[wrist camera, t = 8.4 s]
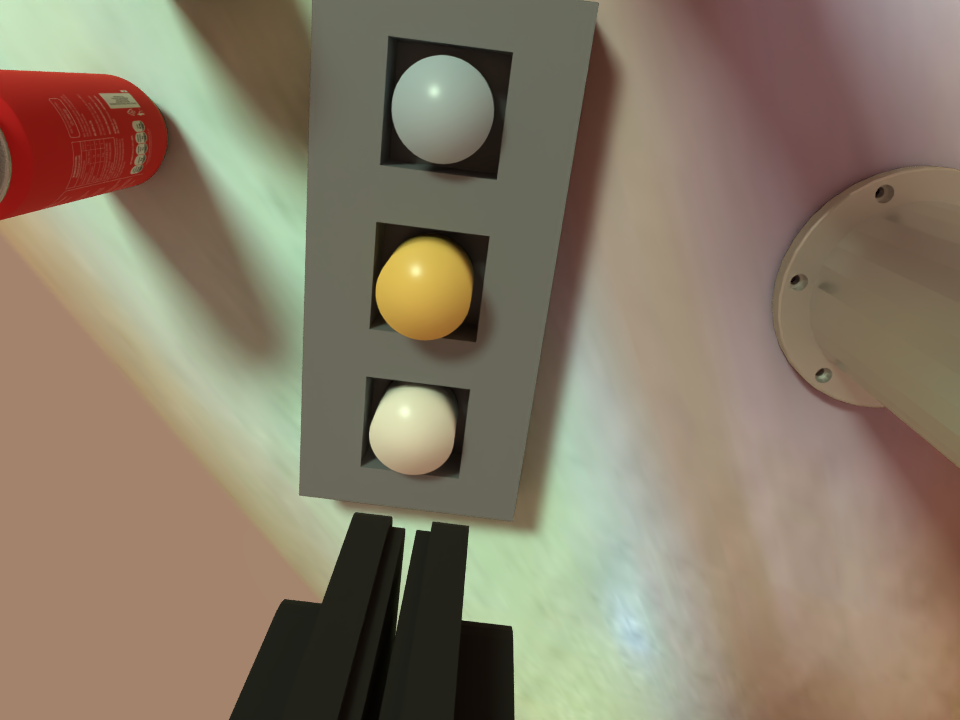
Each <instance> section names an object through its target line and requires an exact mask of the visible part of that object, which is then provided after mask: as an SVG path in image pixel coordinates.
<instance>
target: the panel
mask: <svg viewBox="0 0 960 720" xmlns="http://www.w3.org/2000/svg"><path fill="white" fill-rule="evenodd" d="M598 6H599V3H598V2H590V1H583V0H312V31H311V69H310V107H309V144H308V182H307V220H306V258H305V295H304V333H303V371H302V409H301V446H300V484H299V495H300V496H308V497H317V498H325V499H333V500H341V501H349V502H358V503H366V504H374V505H382V506H390V507H399V508H407V509H415V510H423V511H432V512H440V513H448V514H456V515H464V516H473V517H481V518H489V519H497V520H505V521H513V518H514V512H515V506H516V500H517V494H518V488H519V482H520V476H521V470H522V464H523V458H524V452H525V446H526V440H527V434H528V428H529V422H530V416H531V410H532V404H533V397H534V391H535V385H536V379H537V373H538V367H539V361H540V355H541V349H542V343H543V337H544V331H545V325H546V319H547V313H548V307H549V301H550V295H551V289H552V283H553V277H554V271H555V265H556V259H557V253H558V247H559V241H560V235H561V229H562V223H563V217H564V211H565V205H566V199H567V192H568V186H569V180H570V174H571V168H572V162H573V156H574V150H575V144H576V138H577V132H578V126H579V120H580V114H581V108H582V102H583V96H584V90H585V84H586V78H587V72H588V66H589V60H590V54H591V48H592V42H593V36H594V30H595V24H596V18H597V12H598ZM437 55H447V56H452V57H456V58H459V59H462V60H463V61H465V62H467V63H469V64H470V65H472V66H473V67H474V68H475V69H477V70H478V71H479V72H480V73H481V74H482V75H483V77H484V78H485V79H486V81H487V83H488V84H489V86H490V89H491V91H492V94H493V98H494V106H495V111H494V119H493V123H492V127H491V129H490V132H489V134H488V136H487V138H486V140H485V141H484V143H483V144H482V146H481V147H480V148H479V149H478V150H477V151H476V152H475V153H474V154H472V155H471V156H469V157H468V158H466V159H464V160H462V161H459V162H455V163H451V164H437V163H432V162H429V161H426V160H423V159H421V158H419V157H418V156H416V155H415V154H413V153H412V152H411V151H410V150H409V149H408V148H407V147H406V146H405V145H404V144H403V142H402V141H401V139H400V138H399V136H398V134H397V132H396V129H395V126H394V123H393V119H392V99H393V94H394V90H395V88H396V85H397V83H398V82H399V80H400V78H401V77H402V75H403V74H404V73H405V72H406V70H407V69H408V68H409V67H411V66H412V65H413V64H415V63H416V62H418V61H420V60H422V59H424V58H427V57H431V56H437ZM427 233H431V234H439V235H443V236H446V237H448V238H450V239H452V240H453V241H455V242H456V243H458V244H459V245H460V246H461V247H462V248H463V249H464V250H465V252H466V253H467V255H468V256H469V258H470V260H471V263H472V266H473V271H474V284H473V290H472V297H471V303H470V308H469V311H468V313H467V315H466V317H465V319H464V321H463V322H462V323H461V325H460V326H459V327H458V328H457V329H455V330H454V331H453V332H451V333H450V334H448V335H446V336H444V337H442V338H439V339H434V340H416V339H412V338H409V337H406V336H404V335H402V334H400V333H398V332H397V331H395V330H394V329H393V328H392V327H391V326H390V325H389V324H388V323H387V322H386V321H385V319H384V318H383V316H382V315H381V313H380V311H379V308H378V305H377V301H376V284H377V280H378V277H379V275H380V272H381V271H382V269H383V267H384V266H385V264H386V263H387V261H388V260H389V259H390V257H391V256H392V254H393V253H394V251H395V250H396V249H397V248H398V246H399V245H400V244H402V243H403V242H404V241H406V240H407V239H409V238H411V237H413V236H416V235H420V234H427ZM394 380H399V381H407V382H415V383H423V384H431V385H439V386H447V387H449V388H450V389H451V391H452V392H453V394H454V395H455V398H456V400H457V404H458V417H457V424H456V431H455V438H454V445H453V449H452V452H451V454H450V456H449V457H448V459H447V460H446V461H445V462H444V463H443V464H442V465H441V466H440V467H439V468H437V469H435V470H433V471H431V472H429V473H425V474H420V475H408V474H402V473H399V472H396V471H394V470H392V469H390V468H388V467H387V466H385V465H384V464H383V463H382V462H381V461H380V460H379V459H378V458H377V457H376V455H375V454H374V452H373V450H372V448H371V444H370V439H369V431H370V426H371V423H372V420H373V418H374V415H375V413H376V410H377V408H378V405H379V403H380V400H381V398H382V395H383V393H384V391H385V390H386V388H387V387H388V386H389V385H390V384H391V383H392V382H393V381H394Z"/></svg>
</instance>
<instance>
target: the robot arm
mask: <svg viewBox="0 0 960 720" xmlns="http://www.w3.org/2000/svg"><path fill="white" fill-rule="evenodd" d="M878 188H880V192H879V194H878V195H877V196H875V193H876V191H877V189H878ZM795 275H797V277H796V280H795V281H794V282H791V283H790V281H791V279H792V278H793V277H794V276H795ZM772 310H773V325H774V329H775V332H776V336H777V339H778V343H779V345H780V347H781V349H782V351H783V353H784V354H785V356H786V358H787V360H788V362H789V363H790V364H791V365H792V366H793V367H794V368H795V370H796V371H797V372H798V373H799V374H800V375H801V376H802V377H803V378H804V379H805V380H806V381H807V382H808V383H809V384H810V385H812V386H813V387H814V388H815V389H817V390H819V391H821V392H823V393H824V394H826V395H828V396H830V397H831V398H833V399H836V400H839V401H842V402H845V403H849V404H852V405H857V406H865V407H873V408H882V407H886V408H887V409H889V410H890V411H891V412H892V413H893V414H895V415H896V416H897V417H898V418H899V419H901V420H902V421H903V422H904V423H905V424H907V425H908V426H909V427H910V428H911V429H913V430H914V431H915V432H916V433H917V434H919V435H920V436H921V437H922V438H924V439H925V440H926V441H927V442H928V443H930V444H931V445H932V446H933V447H934V448H936V449H937V450H938V451H939V452H940V453H942V454H943V455H944V456H945V457H946V458H948V459H949V460H950V461H951V462H952V463H954V464H955V465H956V466H957V467H958V468H960V170H957V169H953V168H945V167H937V166H916V167H903V168H899V169H895V170H891V171H887V172H883V173H879V174H876V175H874V176H872V177H870V178H867V179H865V180H863V181H861V182H858V183H856V184H854V185H852V186H851V187H849V188H848V189H846V190H844V191H843V192H841V193H840V194H838V195H837V196H835V197H834V198H832V199H831V200H830V201H828V202H827V203H826V204H825V205H824V206H823V207H822V208H821V209H820V210H819V211H817V212H816V213H815V214H814V215H813V216H812V217H811V218H810V219H809V221H808V222H807V223H806V224H805V226H804V227H803V228H802V229H801V231H800V232H799V233H798V234H797V236H796V237H795V238H794V240H793V242H792V244H791V246H790V247H789V249H788V251H787V253H786V255H785V256H784V258H783V261H782V263H781V266H780V269H779V272H778V275H777V278H776V281H775V287H774V294H773V301H772ZM818 370H820V371H819V372H817V371H818ZM468 533H469V526H465V525H457V524H448V523H440V522H432V527H431V532H430V531H422V530H417V531H416V535H415V540H414V545H413V550H412V555H411V560H410V565H409V570H408V575H407V580H406V585H405V590H404V595H403V600H402V605H401V610H400V615H399V620H398V625H397V630H396V623H397V613H398V603H399V592H400V582H401V571H402V561H403V551H404V540H405V528H397V527H392V517H391V516H383V515H374V514H366V513H358V512H355V513H354V515H353V517H352V520H351V523H350V526H349V529H348V531H347V534H346V537H345V540H344V543H343V546H342V548H341V551H340V554H339V557H338V560H337V562H336V565H335V568H334V571H333V574H332V576H331V579H330V582H329V585H328V588H327V591H326V593H325V596H324V599H323V602H322V604H321V603H312V602H304V601H295V600H287V599H284V600H283V601H282V602H281V604H280V606H279V608H278V610H277V611H276V614H275V616H274V618H273V620H272V623H271V625H270V627H269V630H268V632H267V634H266V636H265V639H264V641H263V643H262V646H261V648H260V651H259V652H258V655H257V657H256V659H255V662H254V664H253V666H252V668H251V671H250V673H249V675H248V677H247V680H246V682H245V685H244V687H243V689H242V691H241V693H240V696H239V698H238V700H237V703H236V705H235V708H234V709H233V712H232V714H231V716H230V719H229V720H514V663H513V630H512V626H505V625H496V624H488V623H479V622H471V621H463V620H462V608H463V596H464V583H465V571H466V558H467V546H468ZM395 634H396V635H395Z"/></svg>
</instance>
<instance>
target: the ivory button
mask: <svg viewBox="0 0 960 720" xmlns="http://www.w3.org/2000/svg"><path fill="white" fill-rule="evenodd" d="M457 417H458V404H457V400H456V398H455V395H454V394H453V392H452V391H451V389H450V388H449V387H447V386H439V385H431V384H423V383H415V382H407V381H399V380H394V381H393V382H392V383H391V384H390V385H389V386H388V387H387V388H386V390H385V391H384V393H383V395H382V398H381V400H380V403H379V405H378V408H377V410H376V413H375V415H374V418H373V420H372V423H371V426H370V431H369V439H370V444H371V448H372V450H373V452H374V454H375V455H376V457H377V458H378V459H379V460H380V461H381V462H382V463H383V464H384V465H385V466H387V467H388V468H390V469H392V470H394V471H396V472H399V473H402V474H408V475H420V474H425V473H429V472H431V471H433V470H435V469H437V468H439V467H440V466H441V465H442V464H443V463H444V462H445V461H446V460H447V459H448V457H449V456H450V454H451V452H452V449H453V445H454V438H455V431H456V424H457Z"/></svg>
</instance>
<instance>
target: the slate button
mask: <svg viewBox="0 0 960 720" xmlns="http://www.w3.org/2000/svg"><path fill="white" fill-rule="evenodd" d="M494 111H495V106H494V98H493V94H492V91H491V89H490V86H489V84H488V83H487V81H486V79H485V78H484V77H483V75H482V74H481V73H480V72H479V71H478V70H477V69H475V68H474V67H473V66H472V65H470V64H469V63H467V62H465V61H463V60H462V59H459V58H456V57H452V56H447V55H437V56H431V57H427V58H424V59H422V60H420V61H418V62H416V63H415V64H413V65H412V66H411V67H409V68H408V69H407V70H406V72H405V73H404V74H403V75H402V77H401V78H400V80H399V82H398V83H397V85H396V88H395V90H394V94H393V99H392V119H393V123H394V126H395V129H396V132H397V134H398V136H399V138H400V139H401V141H402V142H403V144H404V145H405V146H406V147H407V148H408V149H409V150H410V151H411V152H412V153H413V154H415V155H416V156H418V157H419V158H421V159H423V160H426V161H429V162H432V163H437V164H451V163H455V162H459V161H462V160H464V159H466V158H468V157H469V156H471V155H472V154H474V153H475V152H476V151H477V150H478V149H479V148H480V147H481V146H482V144H483V143H484V141H485V140H486V138H487V136H488V134H489V132H490V129H491V127H492V123H493V119H494Z"/></svg>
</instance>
